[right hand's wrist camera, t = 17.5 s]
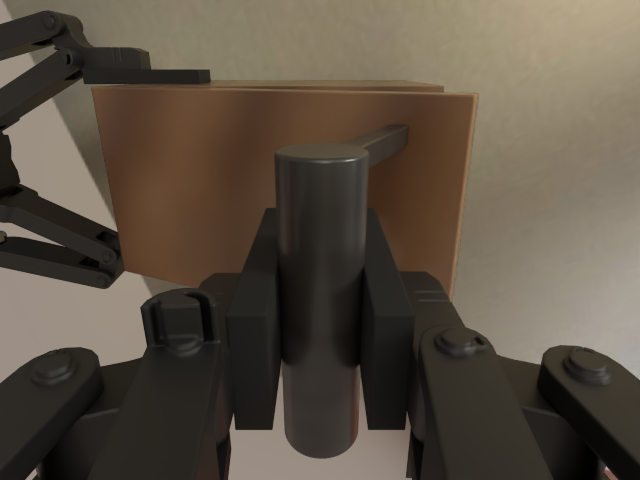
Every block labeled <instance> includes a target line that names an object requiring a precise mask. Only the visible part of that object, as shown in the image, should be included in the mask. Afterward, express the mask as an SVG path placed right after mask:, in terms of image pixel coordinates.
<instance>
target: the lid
mask: <svg viewBox="0 0 640 480" xmlns="http://www.w3.org/2000/svg"><path fill="white" fill-rule="evenodd" d="M92 94H93V100H94V105H95V111H96V116H97V122H98V127H99V132H100V138H101V143H102V149H103V154H104V160H105V165H106V171H107V176H108V181H109V187H110V192H111V198H112V203H113V209H114V214H115V220H116V225H117V231H118V236H119V241H120V247H121V252H122V258H123V263H124V269H125V271H128V272H132V273H136V274H140V275H144V276H148V277H152V278H156V279H161V280H165V281H169V282H173V283H177V284H181V285H185V286H190V287H194V288H198V287H199V286H200V284H201V282H202V281H204V280H205V279H206V278H208V277H209V276H211V275H212V274H214V273H241V272H242V269H243V267H244V264H245V262H246V259H247V256H248V254H249V251H250V249H251V246H252V244H253V241H254V238H255V236H256V233H257V231H258V228H259V225H260V223H261V220H262V218H263V215H264V212H265V210H266V208H276V219H277V245H278V270H279V296H280V321H281V347H282V372H283V397H284V422H285V434H286V438H287V440H288V441H289V443H290V444H291V446H292V447H293V448H294V449H295V450H296V451H298V452H299V453H301V454H303V455H305V456H308V457H312V458H320V459H322V458H331V457H335V456H338V455H340V454H342V453H344V452H345V451H347V450H348V449H349V448H350V447H351V446H352V444H353V443H354V441H355V440H356V437H357V434H358V418H359V394H360V377H361V371H360V342H361V318H362V293H363V268H364V264H365V250H366V226H367V208H374V209H375V211H376V214H377V216H378V219H379V221H380V224H381V227H382V229H383V232H384V234H385V237H386V240H387V242H388V245H389V247H390V250H391V252H392V255H393V258H394V260H395V263H396V265H397V268H398V271H426V272H428V273H429V274H431V275H432V276H434V277H435V278H436V279H438V280H439V281H440V283H441V285H442V286H443V288H444V290H445V293H446V294H447V295H448V297H449V299H450V302H453V294H454V286H455V279H456V271H457V263H458V255H459V247H460V240H461V232H462V224H463V216H464V208H465V200H466V193H467V185H468V177H469V169H470V161H471V154H472V146H473V138H474V130H475V122H476V114H477V107H478V99H479V94H477V93H442V92H390V91H339V90H288V89H237V88H186V87H135V86H102V87H92Z"/></svg>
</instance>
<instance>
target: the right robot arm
mask: <svg viewBox="0 0 640 480" xmlns="http://www.w3.org/2000/svg"><path fill="white" fill-rule="evenodd" d="M140 308H141V314H142V320H143V325H144V331H145V337H146V343H147V348H146V350H145V353H144V355H143V357H141V358H138V359H135V360H131V361H127V362H122V363H117V364H112V365H107V366H102V367H100V363H99V359H98V356H97V355H96V354H95V353H94V352H93V351H92V350H89V349H85V348H81V347H77V348H62V349H59V350H53V351H49V352H47V353H45V354H43V355H41V356H38V357H36V358H34V359H32V360H30V361H29V362H27V363H26V364H24V365H23V366H21V367H20V368H19V369H17V370H16V371H15V372H14V373H12V374H11V375H10V376H9V377H8V378H6V379H5V380H4V381H3V382H1V383H0V480H25V479H26V478H27V477H28V476H29V475H30V474H31V472H32V471H33V470H34V469H35V468H36V471H37V475H36V476H35V477H34V478H33V480H228V474H229V465H230V456H231V442H230V432H229V429H230V425H231V421H232V417H233V413H234V418H235V429H236V430H272V428H273V421H274V413H275V406H276V398H277V390H278V383H279V375H280V368H281V360H282V347H281V321H280V296H279V270H278V245H277V219H276V208H266V210H265V212H264V215H263V218H262V220H261V223H260V225H259V228H258V231H257V233H256V236H255V238H254V241H253V244H252V246H251V249H250V251H249V254H248V256H247V259H246V262H245V264H244V267H243V269H242V272H241V273H214V274H212V275H211V276H209V277H208V278H206V279H205V280H204V281H202V282H201V284H200V286H199V287H198V289H196V288H182V289H175V290H170V291H166V292H163V293H160V294H157V295H156V296H154V297H152V298H150V299H148V300H147V301H146V302H145V303H144V304H143V305H142V306H141V307H140ZM360 371H361V379H362V387H363V394H364V402H365V409H366V417H367V424H368V430H405V424H406V414H407V413H408V417H409V421H410V425H411V432H410V442H409V452H408V462H407V472H406V478H412V480H610V479H609V478H608V476H607V475H606V474H605V473H604V470H605V467H606V466H607V467H608V468H609V470H610V471H611V472H612V473H613V474H614V475H615V476H616V477H617V479H618V480H640V380H639V379H638V378H636V377H635V376H634V375H633V374H632V373H630V372H629V371H628V370H627V369H625V368H624V367H623V366H622V365H620V364H619V363H617V362H616V361H614V360H612V359H611V358H609V357H608V356H606V355H603V354H601V353H598V352H596V351H594V350H592V349H589V348H585V347H584V348H582V347H580V346H565V345H560V346H556V347H552V348H549V349H548V350H547V351H546V352H545V353H544V354H543V357H542V361H541V365H539V364H534V363H529V362H524V361H518V360H513V359H510V358H506V357H502V356H499V355H497V354H496V352H495V350H494V348H493V346H492V344H491V343H490V342H489V341H488V339H487V338H486V337H484V336H483V335H481V334H479V333H478V332H476V331H474V330H471V329H468V328H466V327H465V326H464V324H463V322H462V320H461V318H460V317H459V315H458V313H457V311H456V310H455V308H454V306H453V304H452V302H450V299H449V297H448V295H447V294H446V293H445V290H444V288H443V286H442V285H441V283H440V281H439V280H438V279H436V278H435V277H434V276H432V275H431V274H429V273H428V272H426V271H398V268H397V265H396V263H395V260H394V258H393V255H392V252H391V250H390V247H389V245H388V242H387V240H386V237H385V234H384V232H383V229H382V227H381V224H380V221H379V219H378V216H377V214H376V211H375V209H374V208H367V226H366V250H365V264H364V268H363V293H362V318H361V342H360Z"/></svg>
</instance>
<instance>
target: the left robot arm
mask: <svg viewBox="0 0 640 480" xmlns="http://www.w3.org/2000/svg"><path fill="white" fill-rule="evenodd" d="M52 45H55V46H56V47H55V48H54V49H55V50H58V51H57V52H55V53H54V54H52V55H51V56H49V57H48V58H46V59H45V60H43V61H42V62H40V63H39V64H37V65H36V66H34V67H33V68H31V69H29V70H28V71H26V72H25V73H23V74H22V75H20V76H19V77H17V78H16V79H14V80H13V81H11V82H10V83H8V84H7V85H5V86H4V87H2V88H1V89H0V222H2V223H13V224H15V225H18V226H20V227H22V228H24V229H27V230H29V231H31V232H33V233H36V234H38V235H40V236H43V237H45V238H47V239H50V240H52V241H54V242H56V243H59V244H61V245H63V246H59V245H55V244H50V243H46V242H41V241H37V240H32V239H28V238H22V237H7V234H6V233H5V232H4V231H0V267H3V268H8V269H12V270H17V271H22V272H26V273H31V274H35V275H40V276H45V277H49V278H54V279H59V280H64V281H68V282H73V283H78V284H82V285H87V286H91V287H96V288H101V289H106V288H109V287H110V286H111V285H112V284H113V283H114V282H115V280H116V279H117V278H118V277H119V276H120V275H121V274H122V273H123V272H124V271H125V269H124V263H123V258H122V252H121V247H120V241H119V236H118V232H116V231H114V230H111V229H109V228H107V227H105V226H103V225H101V224H98V223H96V222H94V221H92V220H89V219H87V218H85V217H83V216H81V215H79V214H76V213H74V212H72V211H70V210H68V209H65V208H63V207H61V206H59V205H57V204H55V203H52V202H50V201H48V200H46V199H44V198H41V197H39V196H38V193H37V192H36V191H35V190H32V189H30V188H28V187H26V186H24V185H22V184H19V183H20V179H19V175H18V171H17V169H16V167H15V165H14V163H13V161H12V159H11V144H10V140H9V136H8V135H4V134H3V133H2V131H3V130H5V129H6V128H8V127H10V126H11V125H13V124H14V123H16V122H17V121H19V120H20V119H19V118H20V117H22V116H23V115H25V114H26V113H28V112H30V111H31V110H33V109H34V108H36V107H37V106H39V105H41V104H42V103H44V102H45V101H47V100H48V99H50V98H52V97H53V96H55V95H56V94H58V93H59V92H61V91H63V90H64V89H66V88H67V87H69V86H70V85H72V84H74V83H75V82H77V81H78V80H80V79H81V78H83V80H84V84H202V83H210V82H211V80H210V70H151V66H150V58H149V52H147V51H144V50H142V49H139V48H112V47H93V46H92V45H90V44H89V43H88V41H87V40H86V38H85V36H84V34H83V25H82V23H81V21H80V20H79V19H78V18H77V17H74V16H71V15H66V14H62V13H57V12H53V11H42V12H39V13H36V14H32V15H29V16H26V17H23V18H19V19H16V20H13V21H9V22H6V23H3V24H0V61H1V60H4V59H7V58H11V57H14V56H18V55H21V54H25V53H28V52H31V51H35V50H38V49H42V48H45V47H48V46H52ZM64 246H65V247H64Z"/></svg>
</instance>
